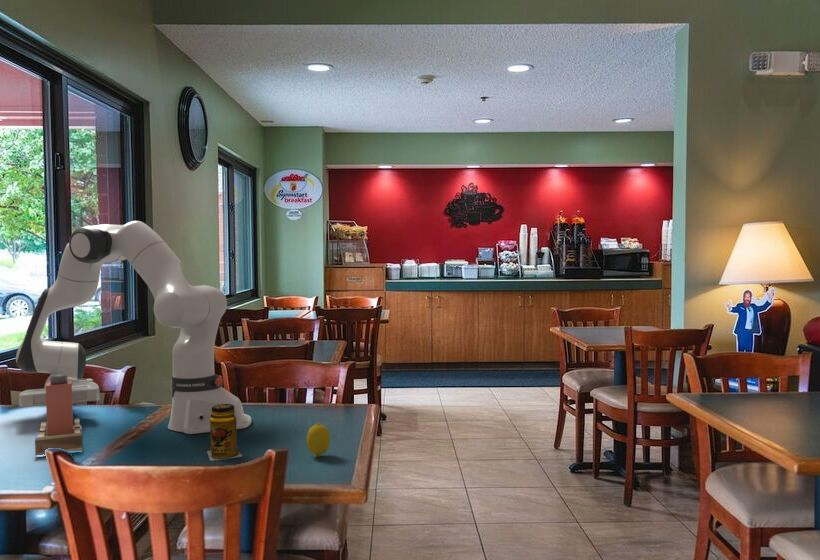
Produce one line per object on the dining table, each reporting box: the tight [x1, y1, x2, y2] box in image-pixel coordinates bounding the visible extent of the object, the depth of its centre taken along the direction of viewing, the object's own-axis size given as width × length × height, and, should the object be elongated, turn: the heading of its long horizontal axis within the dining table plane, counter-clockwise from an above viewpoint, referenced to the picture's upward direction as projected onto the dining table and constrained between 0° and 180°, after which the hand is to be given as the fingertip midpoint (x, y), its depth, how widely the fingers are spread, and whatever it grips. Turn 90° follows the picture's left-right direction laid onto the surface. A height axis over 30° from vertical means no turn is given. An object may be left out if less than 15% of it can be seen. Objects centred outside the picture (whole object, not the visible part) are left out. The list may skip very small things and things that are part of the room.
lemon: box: [306, 422, 331, 458], centre depth 161 cm, size 6×6×8 cm
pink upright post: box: [45, 374, 74, 436], centre depth 180 cm, size 5×6×15 cm
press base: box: [34, 418, 83, 456], centre depth 175 cm, size 24×10×4 cm, turn 26°
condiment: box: [206, 404, 243, 462], centre depth 163 cm, size 7×8×12 cm
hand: (59, 401), depth 186 cm, fingers closed
